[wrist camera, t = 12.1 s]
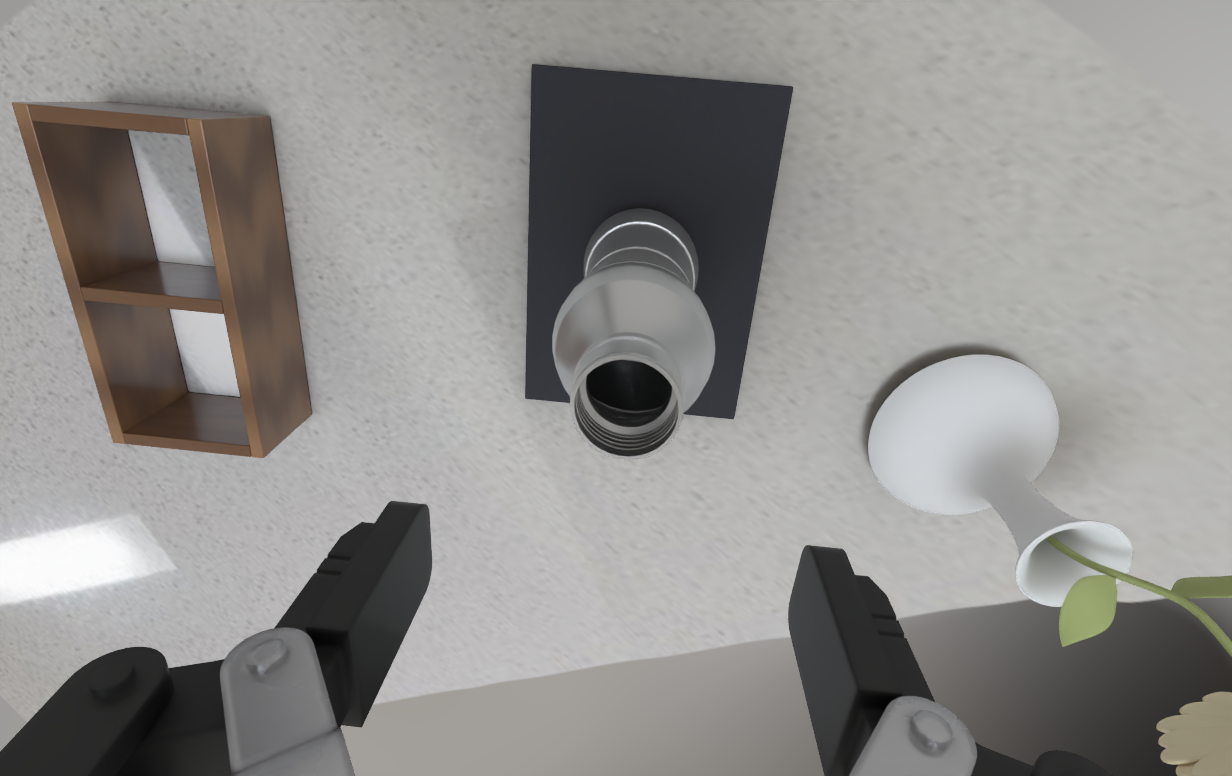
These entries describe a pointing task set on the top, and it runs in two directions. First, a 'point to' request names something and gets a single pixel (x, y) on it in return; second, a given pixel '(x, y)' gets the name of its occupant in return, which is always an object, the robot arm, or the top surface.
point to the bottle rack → (173, 272)
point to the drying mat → (652, 196)
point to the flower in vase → (1032, 514)
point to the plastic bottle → (634, 335)
